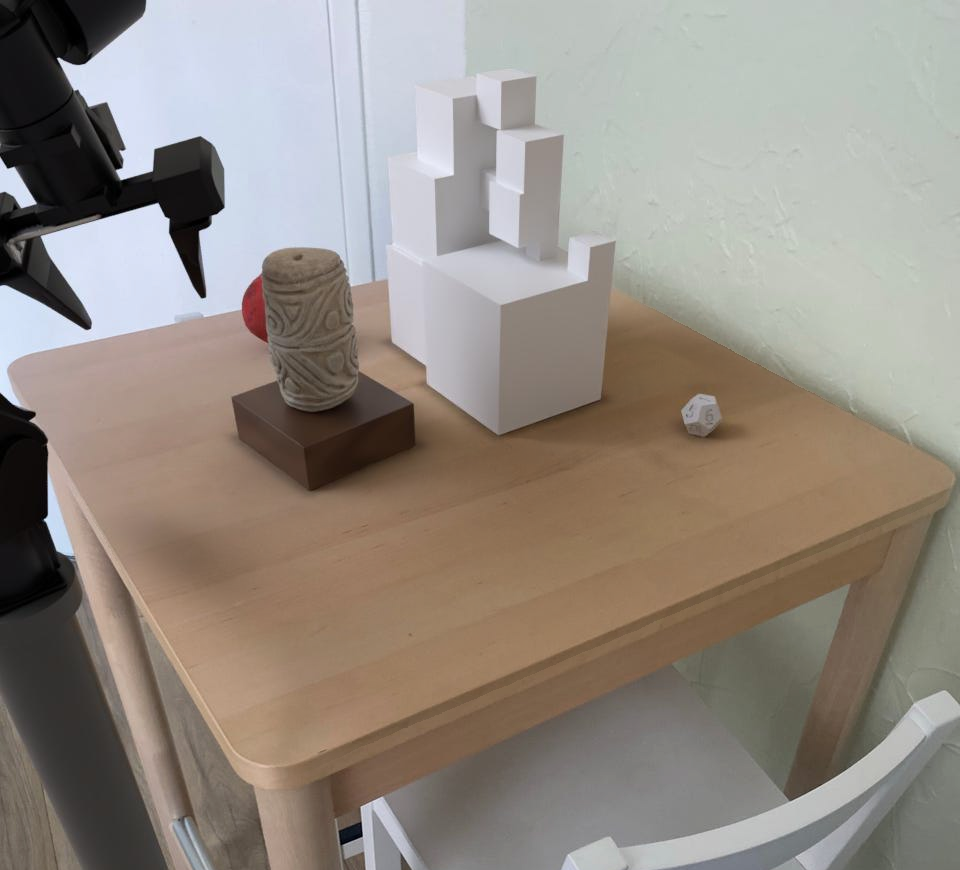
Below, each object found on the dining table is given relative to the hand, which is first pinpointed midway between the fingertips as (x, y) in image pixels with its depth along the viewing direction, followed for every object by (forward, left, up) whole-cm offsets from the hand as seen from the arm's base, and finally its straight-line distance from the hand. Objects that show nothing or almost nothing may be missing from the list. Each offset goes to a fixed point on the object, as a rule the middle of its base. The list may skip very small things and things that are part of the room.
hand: (146, 310), depth 73 cm
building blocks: (+30, -5, -13) cm, 33 cm away
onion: (+18, +13, -13) cm, 25 cm away
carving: (+11, -6, -9) cm, 15 cm away
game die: (+37, -26, -13) cm, 47 cm away
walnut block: (+11, -6, -13) cm, 18 cm away
